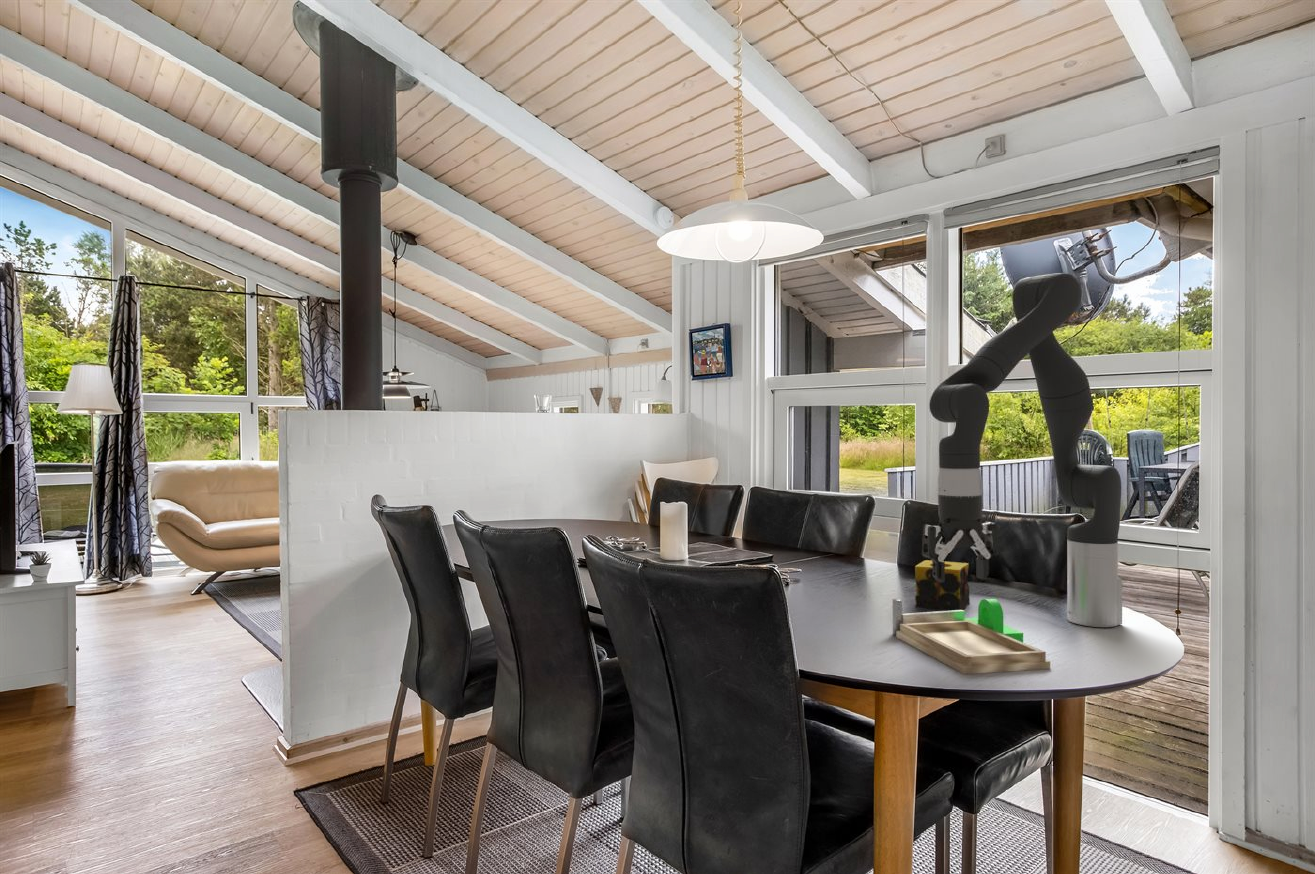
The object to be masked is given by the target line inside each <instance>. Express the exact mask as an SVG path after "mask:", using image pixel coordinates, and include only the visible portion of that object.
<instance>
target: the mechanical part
mask: <svg viewBox="0 0 1315 874" xmlns="http://www.w3.org/2000/svg"><path fill="white" fill-rule="evenodd" d="M977 610H978V611H977V614H978V615H977V617H967V618H966V617H965V621H967V620H970V621H972V622H975V623H977V624H979V625H982V626H984V627H987V628H989V629H991V630H994V631H996V632H999V633H1001V634H1004V635H1006V636H1008V637H1011V638H1013V639H1016V640H1018V641H1020V642H1023V643H1024V633H1023V632H1021V631H1019V630H1017V629H1015V628H1013V627H1010V626H1008V625H1006V624H1004V610H1003V607H1002V605H1001V602H999V600H997V599H996V598H984V599H981V600H980V602H979V604H978V608H977Z"/></svg>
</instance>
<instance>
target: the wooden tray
mask: <svg viewBox="0 0 1315 874" xmlns="http://www.w3.org/2000/svg"><path fill="white" fill-rule="evenodd" d="M895 637H896V638H898V639H899V640H901V641H903V642H904V643H907V644H908V645H910V646H912V647H914V648H915V649H918V650H919V651H921V652H923V653H925V654H927V655H929V656H930V657H931V658H934V659H936V660H937V661H940V662H942V663H944V664H945V665H946V666H949V667H950V668H953V670H954V669H955V670H956V671H958V672H960V673H962V674H964V675H971V674H972V675H974V674H975V675H976V674H988V673H989V674H990V673H1002V672H1019V671H1034V670H1036V671H1037V670H1049V669H1051V661H1050V660H1049V659H1046V658H1047V657H1046V653H1047V652H1046V651H1044V650H1042V649H1039V648H1037V647H1034V646H1033V645H1030V644H1027V643H1025V642H1024V641H1023V642H1020V641H1018V640H1016V639H1013V638H1011V637H1008V636H1006V635H1004V634H1001V633H999V632H996V631H994V630H991V629H989V628H987V627H984V626H982V625H979V624H977V623H975V622H972V621H970V620H967V621H948V622H929V623H910V624H900V631H896V636H895Z"/></svg>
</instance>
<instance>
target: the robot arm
mask: <svg viewBox="0 0 1315 874" xmlns="http://www.w3.org/2000/svg"><path fill="white" fill-rule="evenodd" d="M1082 294H1083V293H1082V286H1081V283H1080V282H1079V280H1078V279H1077V278H1076V277H1075V276H1074V275H1073V274H1070V273H1065V272H1058V273H1057V272H1056V273H1049V274H1040V275H1035V276H1033V275H1032V276H1028V277H1024V278H1021V279H1020V280H1018V281H1017V282H1016V283H1015V285H1014V287H1013V289H1012V296H1011V297H1012V299H1011V300H1012V301H1011V302H1012V309H1013V312H1014V313H1013V314H1014V315H1015V320H1016V322H1015V323H1014V324H1011V326H1009V327H1007V328H1006V329H1005V328H1004V329H1003V330H1002V331H1001V332H999V333H997V334H995V335H994V336H993V337H992V338H991V339H989V340H987V341H986V342H985V343H984V344H983V345H982V346H981V347H980V348H979V349H978V351H976V353H975V354H974V355H973V357H971V359H970V360H969V361H968V362H967V363H966V365H965V366H963V367H962V368H959V370H957V371H955V372H954V373H953V374H951V375H950V376H949V377H948V378H946V379H944V380H943V381H942V382H941V383H940V384H939V385H937V387H936V388H935V389H934V391H933V392H932V394H931V396H930V399H929V405H928V407H929V412H930V414H931V416H932V417H933V418H934V419H935V420H936V421H938V422H942V423H949V424H950V423H951V424H952V423H955V428H954V431H953V433H952V434H951V435H947V436H944V437H943V438H941V439H940V441H939V443H938V444H939V445H938V454H939V455H938V456H939V457H938V459H939V460H938V463H939V464H938V466H939V470H938V475H937V476H938V477H937V478H938V479H937V505H938V506H937V507H938V508H937V511H938V513H937V514H938V518H939V523H938V525H930V524H924V525H923V526H922V541H921V542H922V543H921V555H922V557H924V558H928V559H930V560H931V561H932V569H933V570H932V571H933V572H932V573H933V577H934V578H935V580H936V581H939V582H944V581H945V562H946V561H945V562H943V561H944V560H945V559H946V557H947V556H948V554H949V553H951V552H952V551H953V549H962V548H966V549H967V548H968V549H969V548H970V549H972V550H973V552H974V554H976V556H977V557H975V563H976V564H975V566H976V567H975V568H976V569H975V574H976V575H975V576H976V578H977V579H978V580H979V579H980V580H987V578H988V576H989V574H990V562H989V561H990V558H992V557H993V556H998V555H999V554H1000V543H999V529H998V528H999V527H998V524H997V523H996V522H992V521H985V522H984V523H982V520H981V519H982V517H983V482H982V481H983V480H982V473H981V443H982V439H983V436H984V434H985V433H984V432H985V428H986V425H987V421H988V418H989V412H990V400H989V395H988V394H987V393H991V392H993V391H995V390H996V389H998V388H999V387H1000V385H1001V384H1002V383H1003V382H1004V381H1005V380H1006V378H1007V377H1008V376H1009V375H1010V373H1011V372H1012V371H1013V370H1014V369H1015V367H1016V366H1017V365H1018V364H1019V363H1020V362H1021V361H1022V360H1023V358H1025V357H1026V356H1027V355H1028V356H1029V359H1030V362H1031V367H1032V371H1033V374H1034V377H1035V381H1036V386H1037V392H1038V396H1039V401H1040V404H1041V408H1042V412H1043V415H1044V419H1045V423H1046V427H1047V430H1048V435H1049V440H1050V444H1051V449H1052V456H1053V463H1054V470H1055V479H1056V484H1057V485H1056V486H1057V489H1058V493H1059V496H1060V498H1061V501H1062V502H1063V504H1064V505H1066V506H1068V507H1071V508H1078V509H1090V510H1091V509H1092V510H1094V511H1093V515H1092V517H1091V518H1090V519H1088V520H1086V521H1084V522H1081V523H1076V524H1072V525H1070V526H1068V528H1067V540H1066V541H1067V544H1066V546H1067V547H1066V548H1067V549H1066V550H1067V551H1066V553H1067V554H1066V555H1067V560H1066V561H1067V563H1066V564H1067V565H1066V566H1067V567H1066V568H1067V572H1066V573H1067V576H1066V577H1067V582H1066V583H1067V584H1066V585H1067V587H1066V588H1067V602H1066V603H1067V609H1066V611H1067V613H1066V614H1067V621H1069V622H1070V623H1073V624H1076V625H1080V626H1086V627H1094V628H1113V627H1114V628H1115V627H1117V626H1119V625H1123V579H1122V578H1120V577H1119V555H1118V554H1119V543H1118V542H1119V530H1120V522H1121V503H1122V479H1121V475H1120V473H1119V471H1118V470H1117V469H1116V467H1114V466H1112V465H1101V464H1100V465H1098V464H1097V465H1096V464H1081V463H1080V460H1079V457H1078V444H1079V440H1080V438H1081V436H1082V434H1083V432H1084V431H1085V428H1086V427H1087V425H1088V424H1089V423H1088V422H1089V420H1090V419H1091V417H1092V414H1093V410H1094V400H1093V396H1092V391H1091V388H1090V383H1089V379H1088V377H1087V374H1086V373H1085V371H1084V370H1083V368H1082V367H1081V365H1080V364H1078V362H1077V361H1076V360H1075V358H1073V357H1072V356H1071V355H1070V354H1069V353H1068V352H1067V351H1066V350H1065V348H1063V346H1062V345H1061V344H1060V342H1059V341H1058V339H1057V338H1056V336H1055V333H1054V332H1055V331H1056V330H1057V329H1058V328H1059V327H1061V326H1062V325H1063V324H1064V323H1066V322H1067V321H1068V320H1069V319H1070V318H1071V317H1072V316H1074V314H1075V313H1076V311H1077V310H1078V309H1079V307H1080V305H1081V301H1082ZM982 533H983V535H984V542H983V540H982V539H981V537H980V536H981V534H982ZM939 535H940V538H939V540H937V537H938V536H939ZM936 541H937V543H936Z"/></svg>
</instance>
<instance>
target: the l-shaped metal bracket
mask: <svg viewBox="0 0 1315 874" xmlns="http://www.w3.org/2000/svg"><path fill="white" fill-rule="evenodd" d="M965 613H966V611H965V609H964V610H951V611H944V610H938V611H937V610H936V611H926V612H925V611H924V612H909V613H903V599H901V598H893V599H892V636H895V637H896V631H900V624H910V623H929V622H948V621H965V618H966V615H965Z"/></svg>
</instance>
